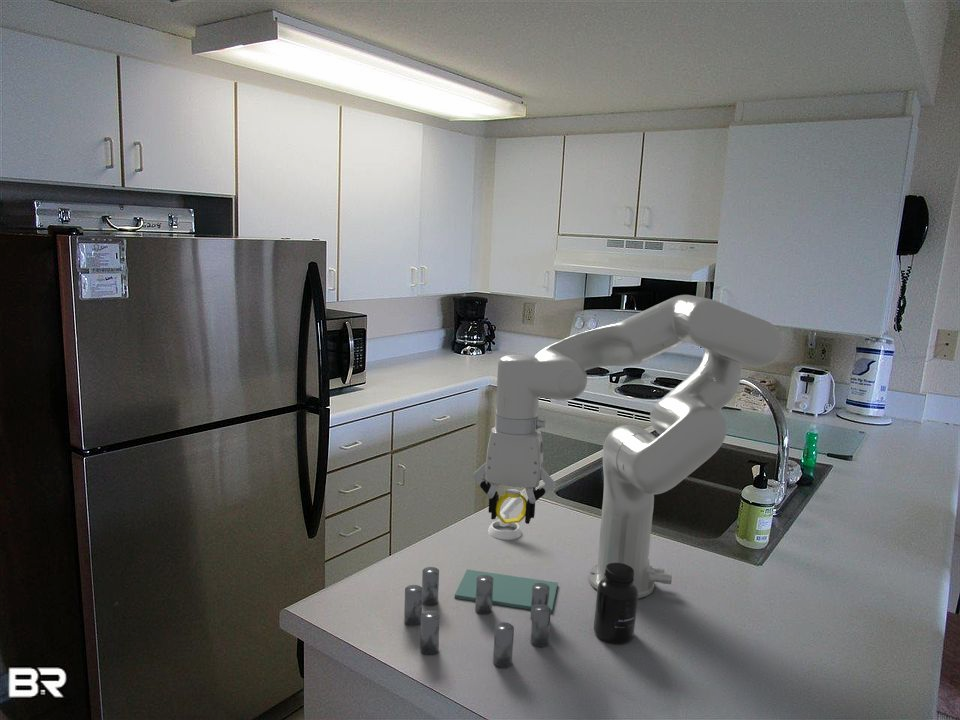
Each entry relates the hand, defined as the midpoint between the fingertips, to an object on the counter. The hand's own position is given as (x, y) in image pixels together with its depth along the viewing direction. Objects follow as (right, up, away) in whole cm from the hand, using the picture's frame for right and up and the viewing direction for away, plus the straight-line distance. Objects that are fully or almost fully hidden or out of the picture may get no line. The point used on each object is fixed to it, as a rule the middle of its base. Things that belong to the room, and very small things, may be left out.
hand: (511, 517), depth 126 cm
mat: (-1, -15, +3) cm, 15 cm away
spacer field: (-7, -17, -10) cm, 21 cm away
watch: (0, -1, 0) cm, 1 cm away
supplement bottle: (+17, -18, -9) cm, 26 cm away
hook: (0, -10, +29) cm, 31 cm away
